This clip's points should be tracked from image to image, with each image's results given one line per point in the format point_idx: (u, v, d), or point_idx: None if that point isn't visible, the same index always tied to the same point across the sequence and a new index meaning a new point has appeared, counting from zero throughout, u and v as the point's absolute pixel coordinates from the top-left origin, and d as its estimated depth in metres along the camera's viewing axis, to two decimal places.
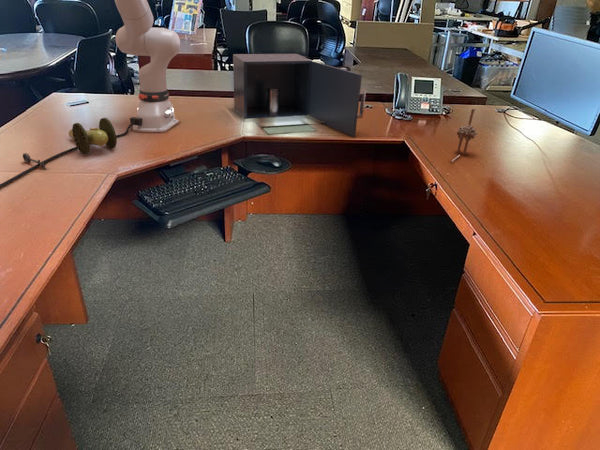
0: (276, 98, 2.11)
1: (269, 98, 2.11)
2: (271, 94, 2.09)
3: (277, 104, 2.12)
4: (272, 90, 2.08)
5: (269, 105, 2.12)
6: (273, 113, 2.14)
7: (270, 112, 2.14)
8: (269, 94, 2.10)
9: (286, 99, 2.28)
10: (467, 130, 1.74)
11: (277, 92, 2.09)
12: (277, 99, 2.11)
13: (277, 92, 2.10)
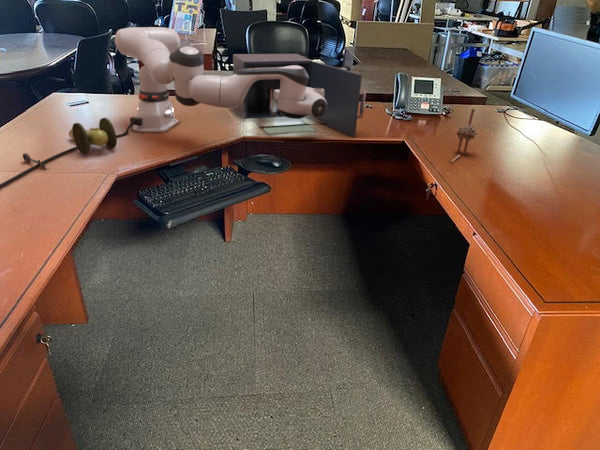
0: None
1: (269, 98, 2.11)
2: (271, 94, 2.09)
3: None
4: (272, 90, 2.08)
5: (269, 105, 2.12)
6: (273, 113, 2.14)
7: (270, 112, 2.14)
8: (269, 94, 2.10)
9: None
10: (467, 130, 1.74)
11: None
12: None
13: None
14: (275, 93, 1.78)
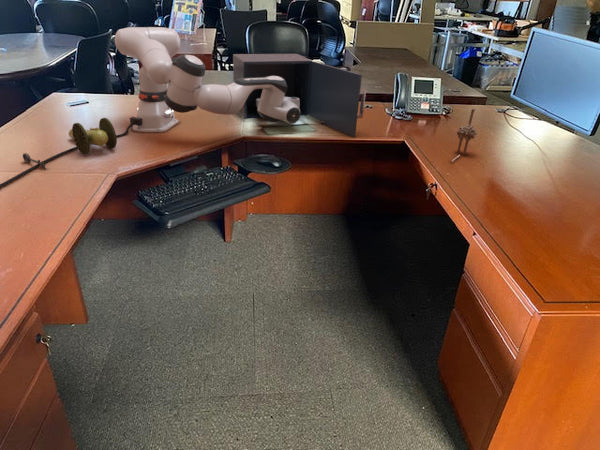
0: None
1: None
2: None
3: None
4: None
5: None
6: None
7: None
8: None
9: None
10: (467, 130, 1.74)
11: None
12: None
13: None
14: (257, 102, 2.04)
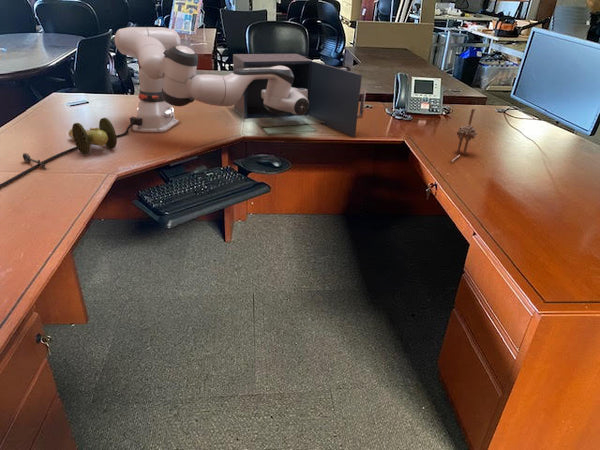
0: None
1: None
2: None
3: None
4: None
5: None
6: None
7: None
8: None
9: None
10: (467, 130, 1.74)
11: None
12: None
13: None
14: (262, 93, 1.94)
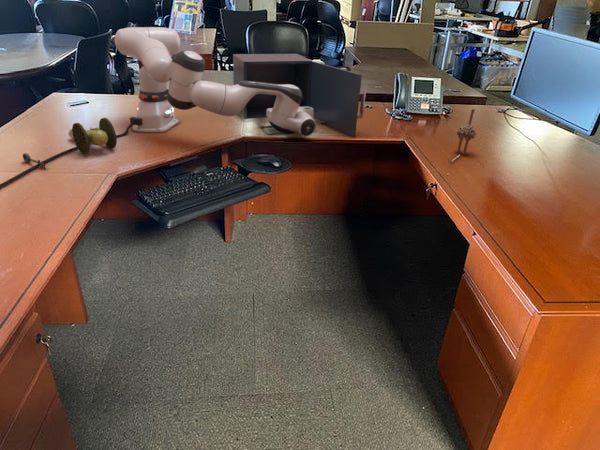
0: None
1: None
2: None
3: None
4: None
5: None
6: None
7: None
8: None
9: None
10: (467, 130, 1.74)
11: None
12: None
13: None
14: (267, 112, 1.91)
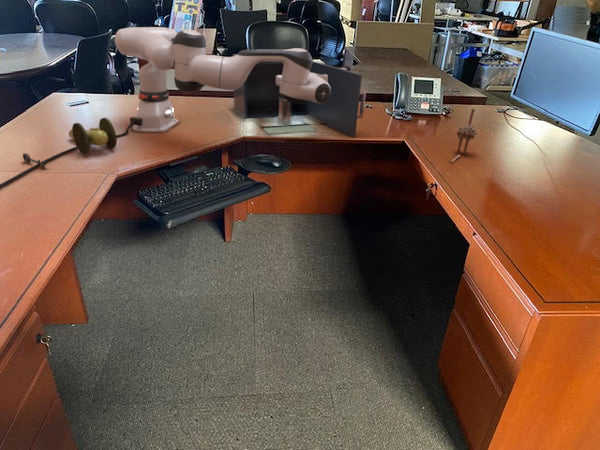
0: (288, 109, 1.97)
1: (280, 109, 1.97)
2: (282, 105, 1.96)
3: (289, 116, 1.99)
4: (284, 101, 1.95)
5: (280, 117, 1.99)
6: (284, 125, 2.00)
7: (281, 124, 2.00)
8: (280, 105, 1.96)
9: None
10: (467, 130, 1.74)
11: (289, 103, 1.96)
12: (288, 110, 1.97)
13: (289, 103, 1.96)
14: (277, 79, 1.73)
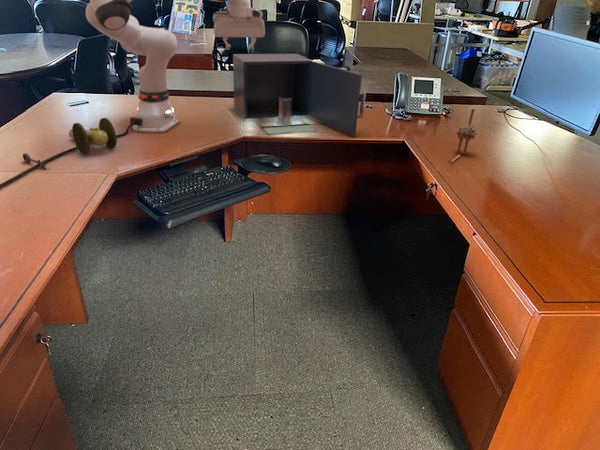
0: (288, 109, 1.97)
1: (280, 109, 1.97)
2: (282, 105, 1.96)
3: (289, 116, 1.99)
4: (284, 101, 1.95)
5: (280, 117, 1.99)
6: (284, 125, 2.00)
7: (281, 124, 2.00)
8: (280, 105, 1.96)
9: None
10: (467, 130, 1.74)
11: (289, 103, 1.96)
12: (288, 110, 1.97)
13: (289, 103, 1.96)
14: (214, 29, 1.73)
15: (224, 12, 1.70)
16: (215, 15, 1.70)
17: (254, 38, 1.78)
